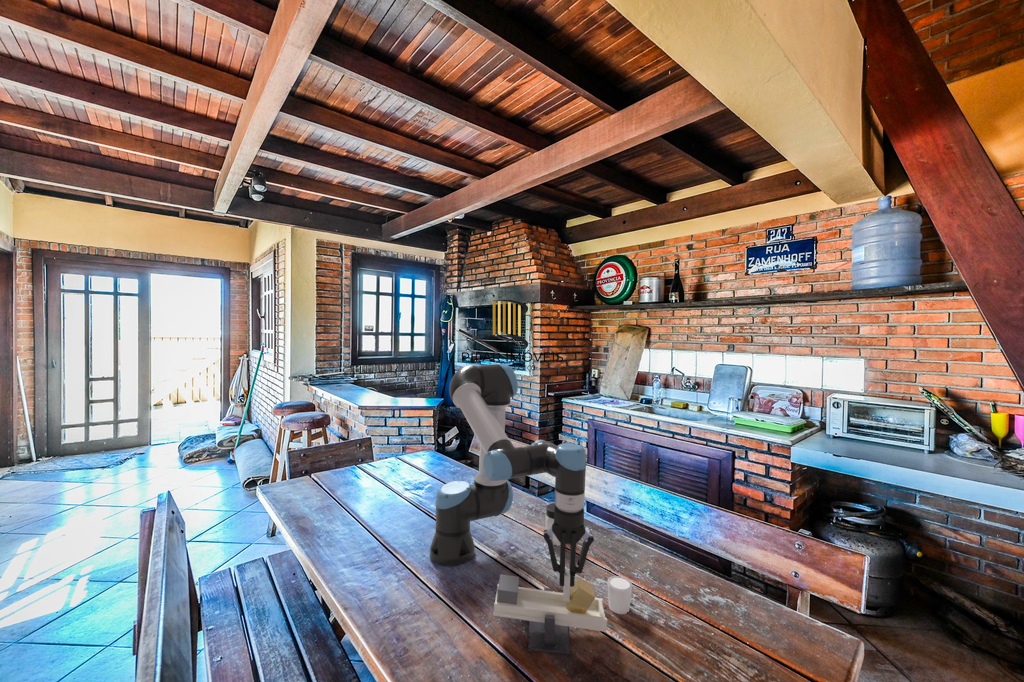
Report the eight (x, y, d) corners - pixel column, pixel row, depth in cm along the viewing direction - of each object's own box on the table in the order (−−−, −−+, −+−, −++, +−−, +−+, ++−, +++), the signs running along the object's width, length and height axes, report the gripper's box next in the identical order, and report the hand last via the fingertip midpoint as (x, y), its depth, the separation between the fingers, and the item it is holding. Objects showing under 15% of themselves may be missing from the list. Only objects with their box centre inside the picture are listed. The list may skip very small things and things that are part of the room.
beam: (493, 616, 102) (495, 592, 102) (496, 593, 111) (498, 571, 111) (606, 633, 101) (609, 608, 100) (601, 608, 110) (603, 585, 109)
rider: (566, 608, 103) (579, 587, 103) (565, 597, 108) (578, 576, 107) (581, 618, 103) (595, 597, 103) (580, 606, 108) (593, 586, 107)
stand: (528, 650, 99) (529, 620, 99) (529, 610, 113) (530, 584, 113) (570, 653, 99) (570, 623, 99) (566, 613, 113) (566, 586, 113)
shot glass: (603, 599, 119) (604, 575, 119) (626, 598, 120) (627, 575, 119) (610, 616, 112) (611, 591, 112) (635, 615, 113) (636, 590, 112)
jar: (554, 548, 146) (555, 514, 145) (540, 538, 153) (540, 506, 152) (573, 541, 151) (574, 509, 150) (558, 531, 158) (559, 501, 157)
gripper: (543, 511, 101) (540, 605, 102) (597, 514, 100) (593, 609, 101) (543, 499, 109) (540, 586, 110) (593, 501, 108) (590, 590, 109)
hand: (566, 597), depth 105 cm, fingers closed
